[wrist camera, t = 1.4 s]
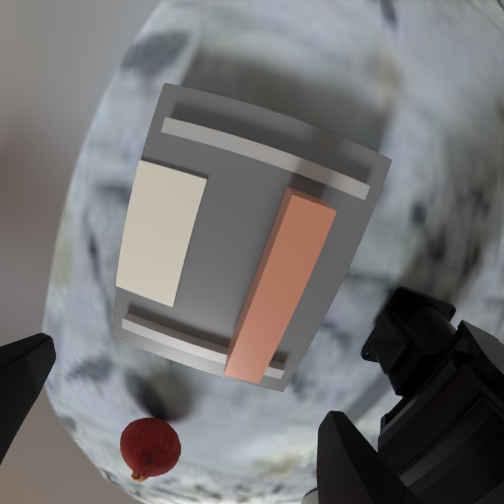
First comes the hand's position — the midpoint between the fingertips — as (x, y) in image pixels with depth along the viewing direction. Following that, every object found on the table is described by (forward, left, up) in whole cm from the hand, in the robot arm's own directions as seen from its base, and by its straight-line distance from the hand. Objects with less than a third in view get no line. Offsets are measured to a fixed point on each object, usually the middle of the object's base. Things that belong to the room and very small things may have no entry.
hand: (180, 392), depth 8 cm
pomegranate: (+2, +19, -12) cm, 23 cm away
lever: (-3, -1, -9) cm, 9 cm away
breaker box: (0, -1, -12) cm, 12 cm away
